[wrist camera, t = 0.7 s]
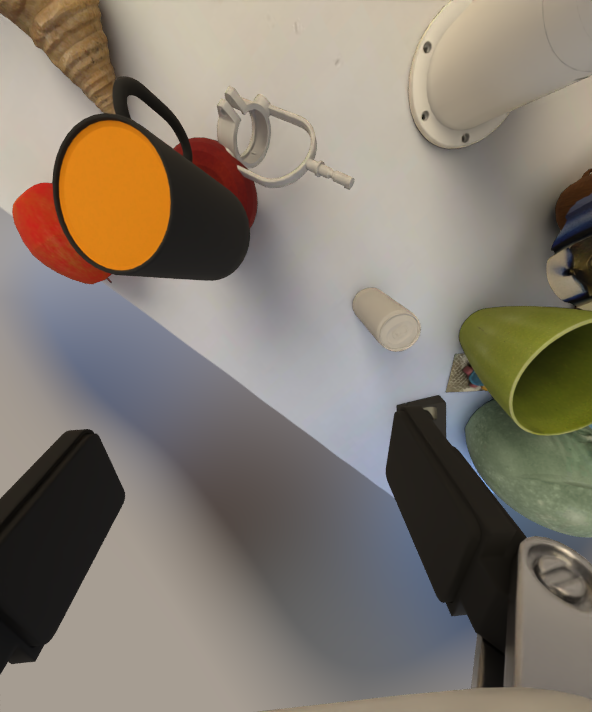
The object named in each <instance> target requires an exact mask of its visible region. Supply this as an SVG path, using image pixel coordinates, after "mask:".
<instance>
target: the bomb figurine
mask: <svg viewBox="0 0 592 712" xmlns="http://www.w3.org/2000/svg"><path fill="white" fill-rule="evenodd" d="M483 390H484V391H488V390H487V389H486V388H485V386H484V385H483V383H482V382H481V380H480V379H479V377H478V376H477V374H476V373H475V371H474V370H473V368H472V366H471V364H470V363H469V361H468V359H467V357H466V355H465V354H455V355H454V360H453V365H452V369H451V374H450V378H449V382H448V385H447V389H446V392H467V391H483Z"/></svg>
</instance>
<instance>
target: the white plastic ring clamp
mask: <svg viewBox="0 0 592 712" xmlns="http://www.w3.org/2000/svg"><path fill="white" fill-rule="evenodd" d="M225 99H226V100H225ZM225 99H222V98H221V100H220V102H219V103H218V105H217V108H218V113H219V119H218V125H217V137H218V142H219V143H220V144H221V145H223V146H224V147H225V148H226V150H227V151H228V152H229V153H230V154H231V155H232V156H233V157H234V158H236V159H237V160H239V161H240V162H241V163H242V164H243V165H244V166H245V167H246V168H254V167H256V166H257V165H258V164H259V163H260V162H261V161H262V160H263V158H264V157H265V155H266V153H267V150H268V147H269V142H270V134H271V129H270V121H269V116H270V115H272V116H274V117H277V118H279V119H282V120H284V121H287V122H289V123H292V124H294V125H297V126H299V127H301V128H303V129H305V130H306V131H307V132H308V133H309V135H310V137H311V145H310V149H309V152H308V154H307V156H306V158H305V160H304V161H303V162H302V164H301V165H300V166H299V167H298V168H297V169H295V170H294V171H293V172H291V173H290V174H288V175H286V176H283V177H280V178H275V179H268V178H263V177H261V176H259V175H257V174H255V173H253V172H251V171H249V170H247V169H245V168H243V167H241V166H239V165H237V168H238V170H239V171H240V172H241V173H242V175H243V176H244V177H246V178H248V179H250V180H252V181H254V182H256V183H258V184H260V185H262V186H265V187H269V188H279V187H284V186H287V185H289V184H291V183H293V182H295V181H297V180H298V179H299V178H300V177H302V176H303V175H304V174H305V173H306V171H307V170H309V171H311V172H314V173H315V176H317V177H320V176H323V177H325V178H328V179H329V178H332V179H333V181H334V182H336V183H339V184H341V185H343V186H344V188H346V189H349V190H350V189H351V187H352V186H353V184H354V178H352V177H350V176H348V175H345V174H343V173H341V172H339V171H335V172H334V171H333V170H332V168H330V167H327V166H325V164H324V162H322V161H319V162H317V161H315V160H314V158H315V155H316V149H317V142H316V137H315V133H314V130H313V127H312V126H311V124H310V123H309V122H308V121H307V120H306V119H305V118H303V117H301V116H298V115H296V114H293V113H291V112H288V111H285V110H283V109H280V108H278V107H275V106H272V105H271V104H270V103H269V101H268V100H267V99H266V98H265V97H264V96H263V95H261V94H258V95H257V97H256V98H255V100H254V101H253V102H252V101H250V100H247V99H244V98H242V97H241V96H240V95H239V94H238V92H237V91H236V90H235V89H234V88H233V87H230V86H229V87H228V89H227V91H226V92H225ZM233 108H236V109H238V110H240V111H241V112H242V114H244V115H245V114H246V113H247V112H248V111H249V113H250V116H251V119H252V137H251V141H250V144H249V146H248V148H247V149H246V151H245V152H244V153H243V154H241V155H239V152H238V149H237V131H238V127H239V124H240V121H241V119H240V117H239V115H238V114H237V113H236V112H235V110H234V109H233Z"/></svg>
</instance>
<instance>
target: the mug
mask: <svg viewBox="0 0 592 712" xmlns="http://www.w3.org/2000/svg"><path fill="white" fill-rule="evenodd" d="M129 95H134V96H136V97H138V98H140V99H141V100H142V101H143V102H145V103H146V104H147V105H148V106H149V107H150V108H152V109H153V110H154V111H155V112H156V113H158V114H159V115H160V116H161V117H162V118H163V119H164V120H166V121H167V122H168V124H169V125H170V126H171V128H172V129H173V130H174V132H175V134H176V135H177V137H178V139H179V141H180V144H181V147H182V150H183V156H182V155H181V154H179V153H178V152H177V151H175V150H174V149H173V148H171V147H170V146H169V145H167V144H166V143H164V142H163V141H162V140H160V139H159V138H158V137H156V136H155V135H154V134H152V133H151V132H149V131H148V130H147V129H145V128H144V127H143V126H141V125H140V124H138V123H136V122H135V121H133V120H132V119H131V118H130V115H129V111H128V106H127V97H128V96H129ZM112 99H113V106H114V110H115V114H110V113H104V114H97V115H93V116H90V117H88V118H86V119H84V120H82V121H81V122H79V123H78V124H77V125H75V126H74V127H73V129H72V130H71V131H70V132H69V133H68V134H67V136H66V137H65V139H64V141H63V142H62V144H61V146H60V149H59V151H58V154H57V156H56V161H55V165H54V170H53V181H52V183H53V199H54V205H55V210H56V213H57V217H58V220H59V223H60V225H61V228H62V230H63V232H64V234H65V236H66V238H67V239H68V241H69V243H70V244H71V245H72V247H73V248H74V249H75V251H76V252H77V253H78V254H79V255H80V256H81V257H82V258H83V259H84V260H85V261H86V262H88V263H89V264H91V265H92V266H94V267H95V268H97V269H99V270H102V271H104V272H106V273H110V274H115V275H126V276H142V277H158V278H174V279H190V280H212V281H213V280H219V279H222V278H225V277H227V276H228V275H230V274H232V273H233V272H234V271H235V270H236V269H237V268H238V267H239V266H240V264H241V263H242V261H243V260H244V258H245V256H246V253H247V250H248V247H249V241H250V226H249V220H248V217H247V214H246V211H245V209H244V207H243V205H242V203H241V202H240V201H239V199H238V198H237V197H236V196H235V195H234V194H233V193H232V192H231V191H230V190H228V189H227V188H226V187H224V186H223V185H222V184H220V183H219V182H218V181H216V180H215V179H214V178H212V177H211V176H209V175H208V174H207V173H205V172H204V171H203V170H201V169H200V168H199V167H197V166H196V165H195V164H193V163H192V161H193V155H192V149H191V145H190V142H189V139H188V137H187V135H186V133H185V131H184V129H183V127H182V125H181V124H180V122H179V120H178V119H177V118H176V116H175V115H174V114H173V112H172V111H171V110H170V109H169V108H168V107H167V106H166V105H165V104H164V103H162V102H161V101H160V100H159V99H158V98H157V97H156V96H155V95H154V94H153V93H152V92H151V91H149V90H148V89H147V88H146V87H145V86H144V85H143V84H141V83H140V82H139V81H137V80H135V79H133V78H130V77H124V76H123V77H119V78H117V79H116V80H115V82H114V84H113V90H112Z"/></svg>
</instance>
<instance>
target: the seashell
mask: <svg viewBox="0 0 592 712" xmlns="http://www.w3.org/2000/svg"><path fill="white" fill-rule="evenodd" d="M98 4H99V0H0V13H1V14H2V15H4V16H5V17H6V18H8V19H10V20H11V21H12V22H13V23H14V24H16V25H17V26H18V27H19V28H20V29H21V30H23V31H24V32H25V33H26V34H27V35H29V36H30V37H31V38H32V40H33V42H34V44H35V45H36V46H37V47H38V48H40V49H42V50H43V51H44V52H45V53H46V54H47V56H48V57H49V59H50V60H51V61H52V63H53V64H54V65H55V66H56V67H58V68H59V69H60V70H61V71H62V72H63V73H64V74H65V75H66V76H67V77H68V78H70V80H71V81H72V82H73V83H74V84H76V85H77V86H78V87H80V88H81V89H82V91H83V93H84V94H85V95H86V96H87V97H88V98H89V99H90V100H91V101H93V102H94V103H95V104H96V106H97V107H98V108H100V110H101V111H102V112H104V113H110V114H115V110H114V106H113V99H112V90H113V84H114V82H115V74H114V68H113V66H112V65H111V63H110V58H109V50H108V47H107V43H108V40H107V37H106V35H105V34H104V32H103V31H102V24H101V22H100V19H101V12H100V10H99V7H98Z"/></svg>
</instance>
